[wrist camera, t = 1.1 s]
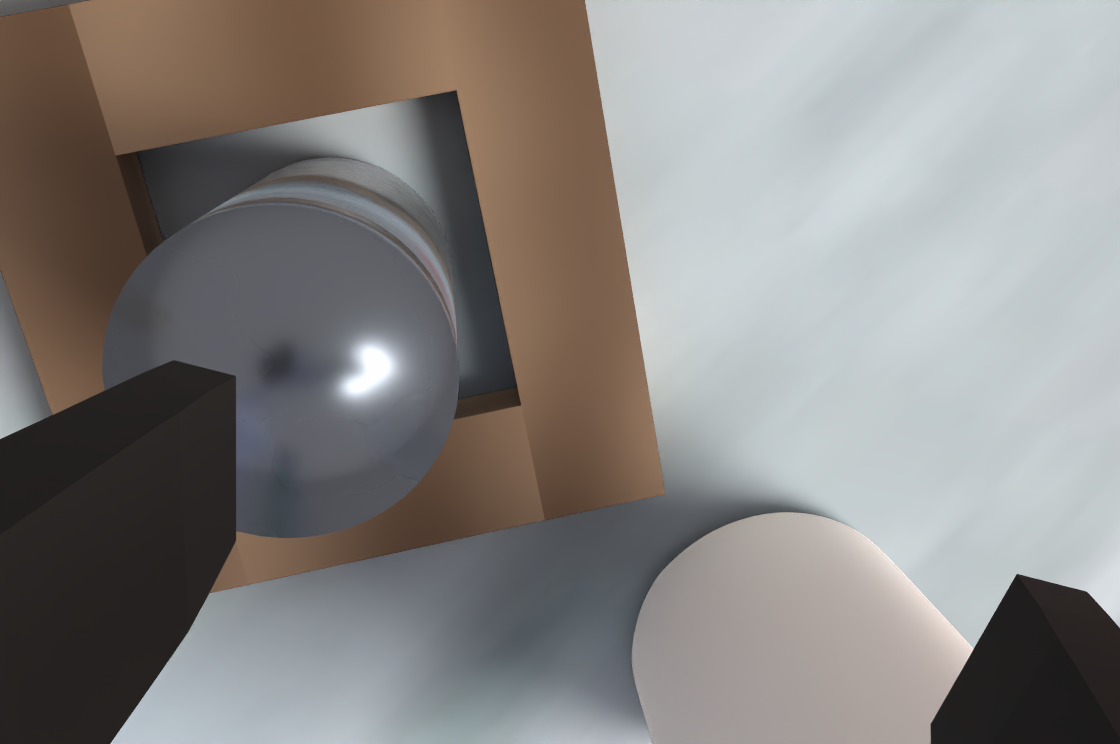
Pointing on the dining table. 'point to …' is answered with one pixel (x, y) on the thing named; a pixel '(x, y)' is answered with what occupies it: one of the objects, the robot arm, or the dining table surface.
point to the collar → (322, 89)
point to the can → (791, 641)
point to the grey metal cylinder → (308, 338)
